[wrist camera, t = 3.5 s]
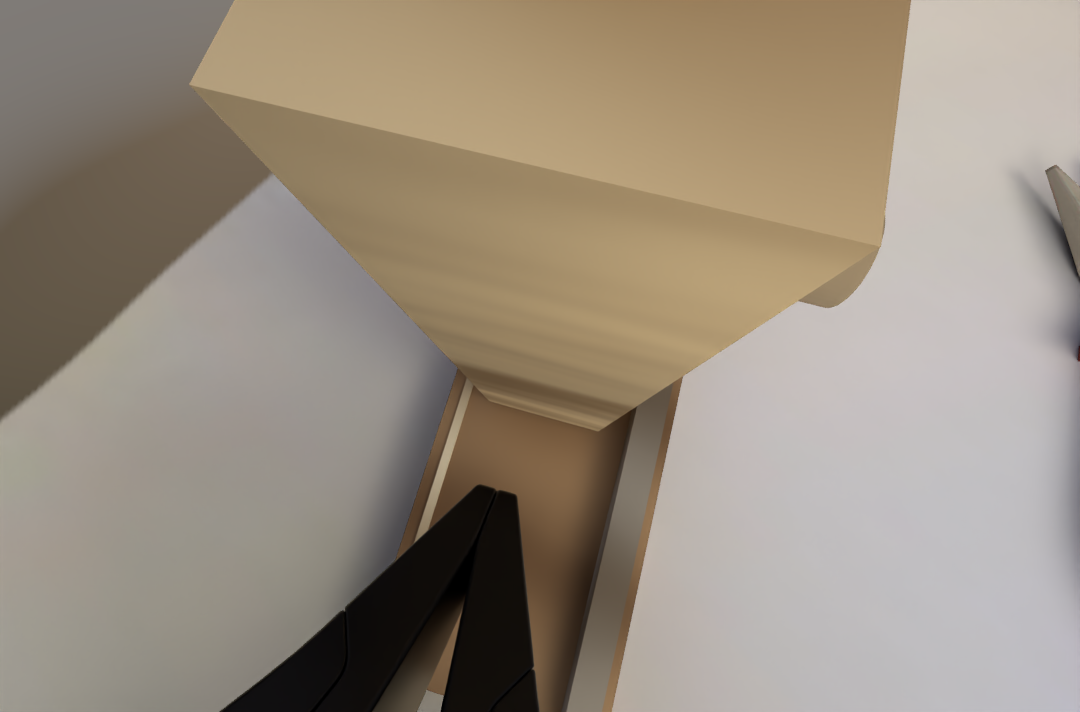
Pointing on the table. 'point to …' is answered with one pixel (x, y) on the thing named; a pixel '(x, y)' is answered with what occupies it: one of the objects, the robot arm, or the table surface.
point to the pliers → (1067, 209)
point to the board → (558, 526)
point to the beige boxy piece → (577, 169)
